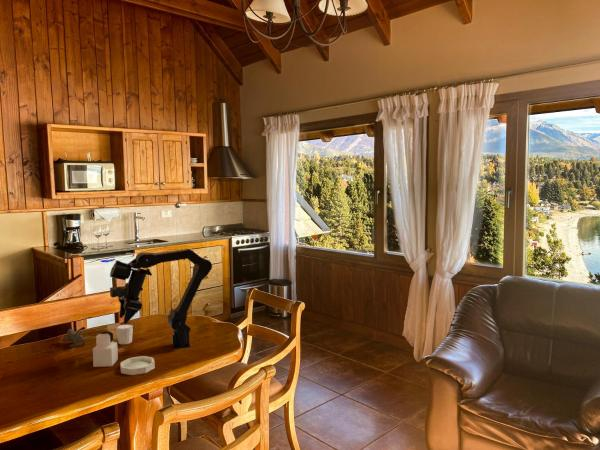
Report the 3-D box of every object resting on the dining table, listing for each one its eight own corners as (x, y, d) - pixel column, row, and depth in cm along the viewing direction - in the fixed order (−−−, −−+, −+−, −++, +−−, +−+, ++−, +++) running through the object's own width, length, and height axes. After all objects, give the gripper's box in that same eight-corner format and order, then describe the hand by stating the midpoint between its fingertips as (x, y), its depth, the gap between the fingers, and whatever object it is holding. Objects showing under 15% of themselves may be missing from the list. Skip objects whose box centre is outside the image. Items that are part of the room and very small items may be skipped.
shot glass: (127, 345, 197) (127, 329, 196) (113, 344, 198) (112, 328, 197) (136, 340, 203) (136, 324, 203) (122, 338, 205) (122, 323, 204)
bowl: (152, 359, 181) (152, 354, 180) (156, 371, 170) (155, 365, 169) (120, 364, 176) (119, 359, 176) (121, 376, 165) (121, 371, 165)
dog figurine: (88, 345, 197) (87, 328, 196) (75, 349, 192) (74, 332, 192) (73, 339, 204) (72, 323, 203) (60, 343, 199) (59, 326, 199)
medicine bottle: (99, 359, 181) (98, 330, 180) (118, 359, 181) (117, 329, 180) (92, 367, 174) (91, 336, 172) (112, 366, 174) (111, 335, 173)
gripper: (111, 274, 189) (98, 310, 187) (119, 282, 173) (105, 322, 171) (138, 280, 194) (125, 316, 193) (148, 289, 178) (134, 328, 177)
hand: (122, 320), depth 183 cm, fingers open, 9 cm apart
